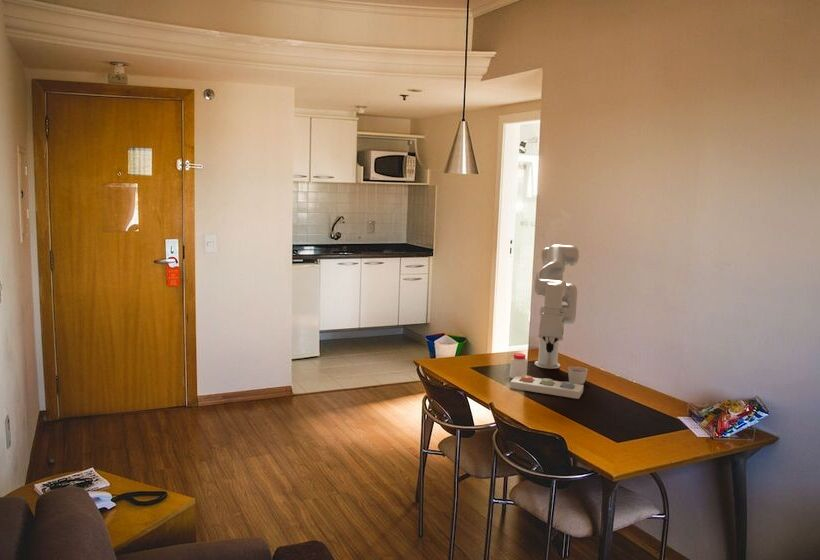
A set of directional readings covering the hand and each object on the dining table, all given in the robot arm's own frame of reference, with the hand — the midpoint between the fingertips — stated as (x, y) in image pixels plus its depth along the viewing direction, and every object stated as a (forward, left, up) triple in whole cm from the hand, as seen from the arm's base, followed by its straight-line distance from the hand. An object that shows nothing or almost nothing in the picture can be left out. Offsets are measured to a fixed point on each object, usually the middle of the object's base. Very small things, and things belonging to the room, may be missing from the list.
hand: (549, 351), depth 299 cm
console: (0, 0, -17) cm, 17 cm away
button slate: (0, +9, -17) cm, 19 cm away
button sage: (0, 0, -17) cm, 17 cm away
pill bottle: (-13, -16, -17) cm, 27 cm away
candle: (-20, +10, -17) cm, 28 cm away
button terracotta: (0, -9, -17) cm, 19 cm away
